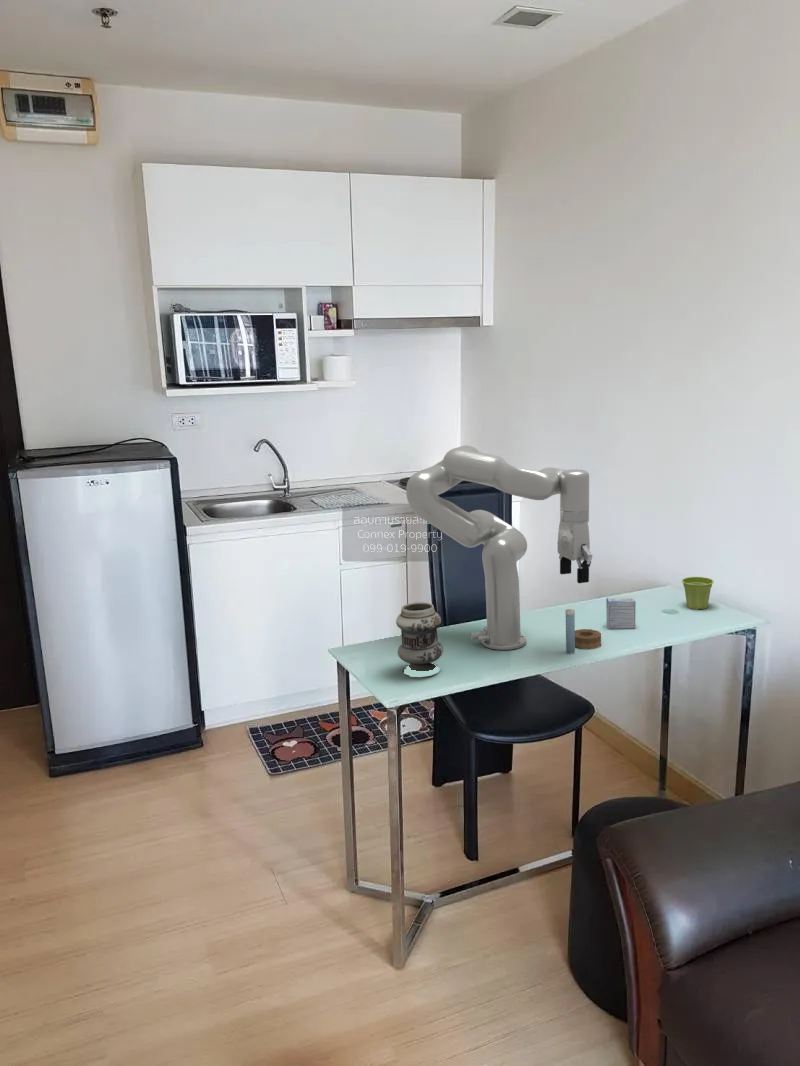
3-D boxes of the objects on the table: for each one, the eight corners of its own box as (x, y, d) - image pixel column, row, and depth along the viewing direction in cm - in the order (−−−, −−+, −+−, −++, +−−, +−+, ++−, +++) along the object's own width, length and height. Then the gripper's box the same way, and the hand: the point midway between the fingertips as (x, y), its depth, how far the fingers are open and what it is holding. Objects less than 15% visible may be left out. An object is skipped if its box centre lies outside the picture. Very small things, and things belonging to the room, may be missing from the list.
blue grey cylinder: (568, 654, 221) (567, 612, 219) (564, 651, 224) (563, 609, 221) (576, 653, 222) (576, 611, 219) (572, 650, 224) (572, 608, 222)
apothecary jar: (418, 659, 223) (414, 597, 220) (453, 668, 216) (450, 603, 212) (389, 673, 214) (385, 608, 211) (424, 683, 207) (421, 615, 203)
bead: (579, 650, 224) (579, 640, 223) (566, 641, 231) (566, 631, 231) (606, 646, 226) (606, 636, 225) (592, 637, 233) (592, 627, 233)
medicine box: (633, 624, 243) (633, 596, 241) (635, 629, 239) (635, 600, 237) (606, 624, 244) (606, 597, 242) (608, 629, 239) (608, 601, 238)
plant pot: (703, 613, 249) (704, 586, 248) (675, 607, 256) (676, 581, 254) (718, 606, 255) (719, 579, 254) (690, 601, 262) (691, 575, 261)
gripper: (547, 512, 223) (547, 572, 227) (577, 523, 207) (577, 587, 211) (571, 509, 225) (571, 569, 229) (603, 520, 209) (602, 584, 213)
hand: (574, 578), depth 220 cm, fingers open, 9 cm apart
